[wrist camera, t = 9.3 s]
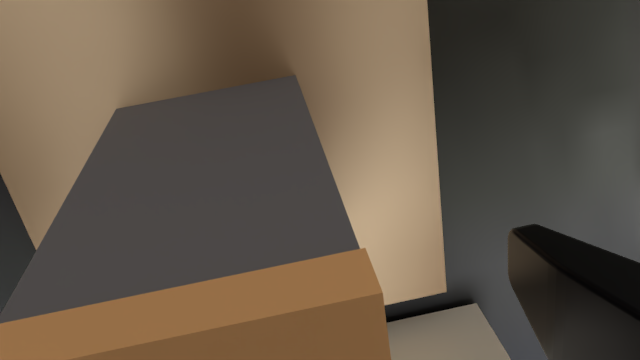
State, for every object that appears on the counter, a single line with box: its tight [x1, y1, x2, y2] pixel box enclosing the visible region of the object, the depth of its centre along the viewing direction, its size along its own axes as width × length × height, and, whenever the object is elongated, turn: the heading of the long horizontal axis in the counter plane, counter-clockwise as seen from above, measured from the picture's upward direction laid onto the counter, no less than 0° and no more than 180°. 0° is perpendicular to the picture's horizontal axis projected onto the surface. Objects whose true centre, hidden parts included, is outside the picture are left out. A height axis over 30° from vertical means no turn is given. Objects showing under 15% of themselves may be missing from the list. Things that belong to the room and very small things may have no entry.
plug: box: [0, 75, 391, 360], centre depth 10 cm, size 4×4×8 cm
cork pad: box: [0, 0, 447, 305], centre depth 14 cm, size 10×10×1 cm
